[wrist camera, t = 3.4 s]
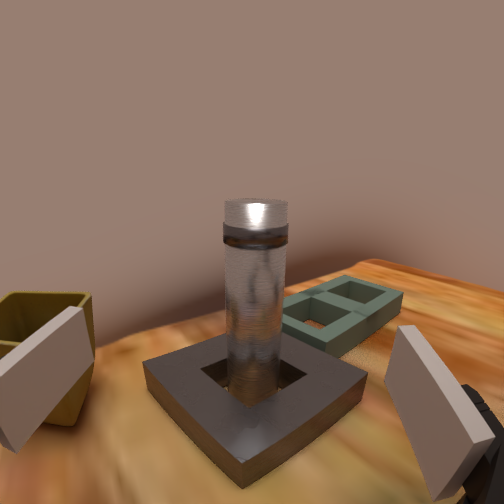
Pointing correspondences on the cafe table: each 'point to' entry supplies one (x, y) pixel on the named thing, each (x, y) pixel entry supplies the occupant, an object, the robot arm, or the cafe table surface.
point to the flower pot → (32, 319)
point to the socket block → (260, 415)
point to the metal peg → (254, 295)
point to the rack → (339, 313)
